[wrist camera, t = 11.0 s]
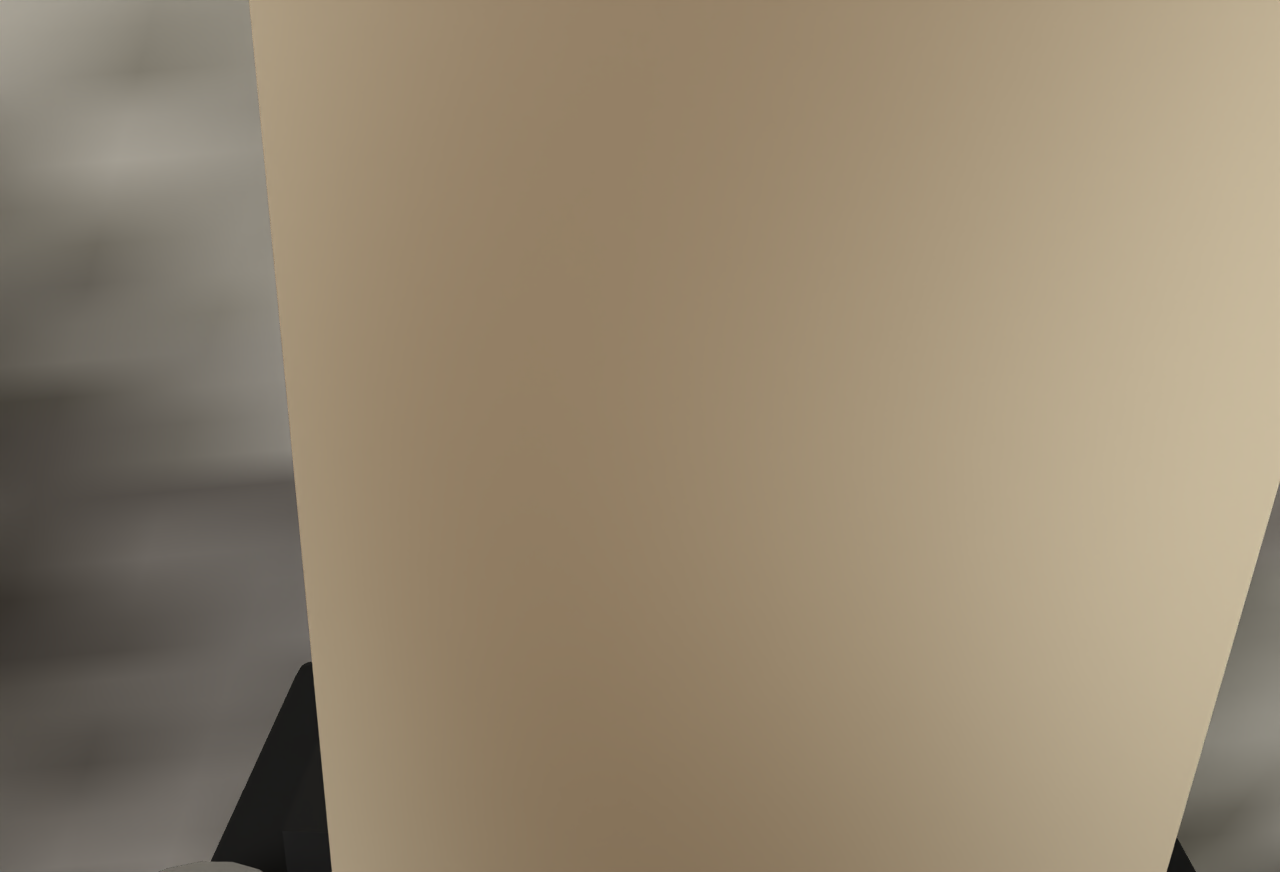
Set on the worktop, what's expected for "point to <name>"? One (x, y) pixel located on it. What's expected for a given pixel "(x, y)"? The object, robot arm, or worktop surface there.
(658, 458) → the maple bar
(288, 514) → the worktop surface
